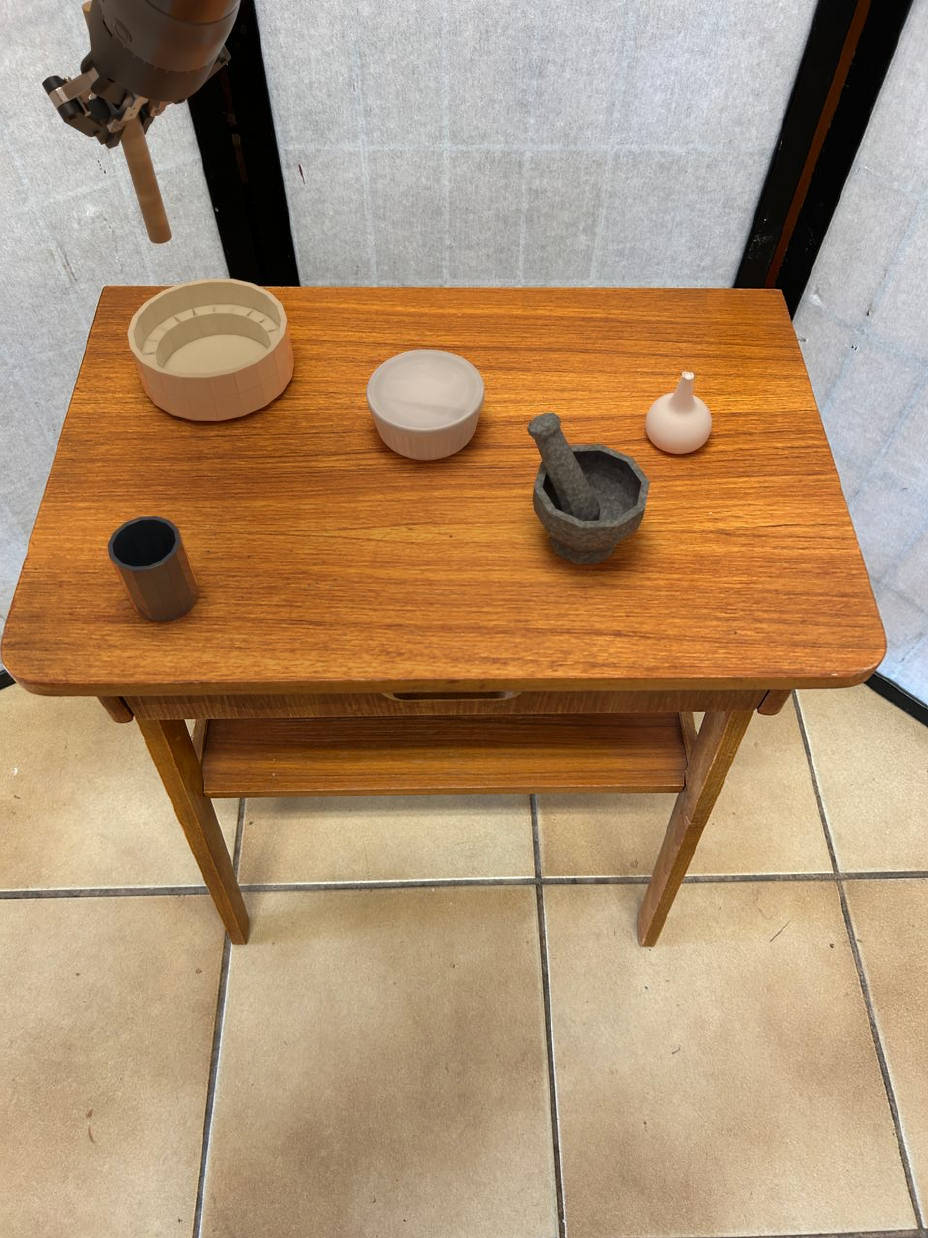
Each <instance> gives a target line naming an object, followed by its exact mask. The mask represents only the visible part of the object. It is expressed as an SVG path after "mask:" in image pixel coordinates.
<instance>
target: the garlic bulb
mask: <svg viewBox="0 0 928 1238" xmlns="http://www.w3.org/2000/svg"><path fill="white" fill-rule="evenodd" d="M694 379H695V373H693V371H691V372H688V371H682V373H681V377H680V379H679V380H678V384H677V385H676V388H675V391H674V392H670V393H667V394H664V395H662V396H660V397H659V398H658V399H656V400H655V401H654V402H653V403H652V404H651V406H650V407H649V409H648V410H647V413H646V416H645V422H644V423H645V424H644V427H645V433H646V435H647V437H648V439H649V441H650V443H652V444H653V445H654V446H655V447H656V448H657V449H659V450H661V451H663V452H666V453H669V454H675V455H684V454H689V453H692V452H694V451H696V450H698V449H700V448H702V446H703V445H704V444H705V443H706V442H707V440H708V439H709V437H710V435H711V432H712V428H713V419H712V418H713V417H712V414H711V410H710V409H709V407H708V406H707V404H706V403H705V401H702V399H700V398H699V397H698V396H696V395H694Z"/></svg>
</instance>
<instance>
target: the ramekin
mask: <svg viewBox="0 0 928 1238" xmlns="http://www.w3.org/2000/svg"><path fill="white" fill-rule="evenodd" d="M485 389H486V387H485V382H484V379H483V377H482V375H481V373H480V371H479V370H478V368H476V366H475V365H473V364H472V363H471V362H470V361H468V360H467V359H466V358H463V357H462V356H460V355H458V354H455V353H453V352H449V351H445V350H438V349H416V350H415V349H413V350H408V351H405V352H402V353H399V354H397V355H395V356H392V357H390V358H388V359H387V360H385V361H384V362H382V363H381V364H380V365H379V366H377V368H375V369H374V371H373V372H372V374H371V375H370V377H369V379H368V382H367V385H366V388H365V399H366V403H367V407H368V410H369V413H370V414H371V415H372V418H373V421H374V424H375V427H376V430H377V432H378V435H379V437H380V438H381V441H383V443H384V444H385V446H388V448H389V449H391V450H392V451H393V452H395V453H397V454H398V455H401V456H403V457H404V458H408V459H411V460H417V461H436V460H441V459H445V458H448V457H450V456H452V455H455V454H457V453H458V452H459V451H461V450H462V449H463V448H465V447H466V445H468V444H469V442H470V441H471V440H472V438H473V436H474V434H475V432H476V429H477V425H478V422H479V417H480V414H481V410H482V409H483V405H484V402H485V398H486V397H485V396H486V391H485Z"/></svg>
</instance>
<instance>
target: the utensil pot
mask: <svg viewBox="0 0 928 1238" xmlns="http://www.w3.org/2000/svg"><path fill="white" fill-rule="evenodd" d="M107 553H108V558H109V559H110V563H111V564H112V566H113V568H114V571H115V573H116V575H117V578H118V579H119V582H120V584H121V586H122V588H123V590H124V592H125V595H126V597H127V599H128V600H129V601H128V602H129V603H130V605H131V607H132V608H133V610H134V612H135V613H136V614H137V615H138V616H140V618H142V619H144V620H146V621H149V622H154V623H165V622H166V623H167V622H171V621H175V620H177V619H179V618H182V617H183V616H184V615H187V613H189V612H190V610H192V609H193V608H194V606H195V605H196V603H197V601H198V598H199V595H200V589H199V588H200V587H199V584H198V581H197V577H196V574H195V571H194V568H193V566H192V563H191V560H190V557H189V554H188V551H187V549H186V546H185V543H184V540H183V537H182V534H181V532H180V529H179V527H178V526H176V525H175V524H174V523H173V522H172V521H171V520H170V519H167V518H164V517H161V516H158V515H148V516H147V515H146V516H138V517H135V518H133V519H130V520H128V521H125V522H124V523H122V524H121V525H120V526H119V527H118V528H116V529H115V530H114V531H113V532H112V534H111V536H110V538H109V540H108V542H107Z"/></svg>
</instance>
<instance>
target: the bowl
mask: <svg viewBox="0 0 928 1238" xmlns="http://www.w3.org/2000/svg"><path fill="white" fill-rule="evenodd" d="M126 334H127V339H128V345H129V349H130V353H131V356H132V358H133V361H134V364H135V367H136V370H137V373H138V376H139V380H140V382H141V385H142V388H143V390H144V393H145V394H146V395H147V397H148V398H149V399H150V400H151V402H152V403H153V404H154V405H155V406H157V407H158V408H160V409H162V410H163V411H164V412H166V413H169V414H170V415H172V416H175V417H179V418H183V419H187V420H191V421H200V422H201V421H202V422H203V421H205V422H207V421H208V422H210V421H211V422H221V421H225V420H230V419H234V418H235V419H236V418H240V417H243V416H246V415H249V414H251V413H253V412H255V411H258V410H260V409H262V408H265V407H266V406H267V405H269V404H270V403H271V402H273V401H274V400H275V399H277V398H278V397H279V396H281V394H282V393H283V392H284V390H285V389H286V388H287V386H288V385H289V383H290V381H291V380H292V378H293V374H294V373H293V372H294V367H295V358H294V352H293V346H292V341H291V339H292V338H291V334H290V327H289V322H288V317H287V314H286V311H285V308H284V306H283V303H282V302H280V301H279V299H278V298H277V297H276V296H275V295H274V294H273V293H272V292H270V291H269V290H267V289H265V288H263V287H261V286H259V285H257V284H255V283H252V282H250V281H249V282H248V281H244V280H239V279H235V278H203V279H197V280H191V281H186V282H182V283H180V284H176V285H174V286H172V287H169V288H166V289H164V290H161V291H160V292H159V293H157V294H156V295H154V296H153V297H151V298H149V299H148V300H146V301H145V302H144V303H143V304H142V305H141V306H140V307H139V308H138V310H137V311H136V312H135V313H134V314H133V316H132V318H131V321H130V323H129V326H128V330H127V332H126Z"/></svg>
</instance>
